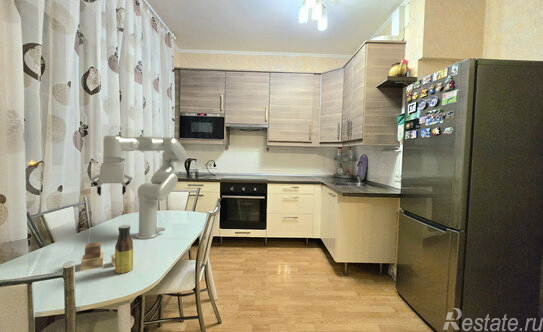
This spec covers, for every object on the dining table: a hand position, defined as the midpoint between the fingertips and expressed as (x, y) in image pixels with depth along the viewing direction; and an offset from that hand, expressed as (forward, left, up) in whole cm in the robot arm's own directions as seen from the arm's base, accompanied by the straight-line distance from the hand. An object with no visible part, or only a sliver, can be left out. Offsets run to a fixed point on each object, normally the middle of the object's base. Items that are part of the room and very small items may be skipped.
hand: (111, 194), depth 115 cm
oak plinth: (+6, +18, -27) cm, 33 cm away
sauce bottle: (-5, +29, -28) cm, 41 cm away
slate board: (+4, +18, -28) cm, 34 cm away
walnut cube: (+6, +18, -23) cm, 30 cm away
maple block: (-3, +21, -27) cm, 35 cm away
